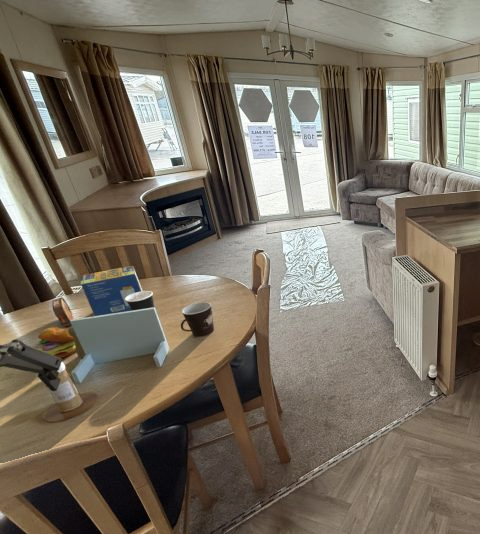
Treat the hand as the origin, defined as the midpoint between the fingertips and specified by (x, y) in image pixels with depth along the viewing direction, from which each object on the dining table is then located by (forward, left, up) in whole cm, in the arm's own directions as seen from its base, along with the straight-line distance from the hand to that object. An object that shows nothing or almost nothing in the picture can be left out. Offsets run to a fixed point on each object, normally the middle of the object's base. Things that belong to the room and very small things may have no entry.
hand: (13, 392), depth 74 cm
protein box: (-57, +40, -15) cm, 71 cm away
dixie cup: (-38, +40, -15) cm, 57 cm away
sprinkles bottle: (-8, +8, -15) cm, 19 cm away
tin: (-64, +26, -15) cm, 71 cm away
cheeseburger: (-41, +17, -15) cm, 47 cm away
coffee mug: (-13, +44, -15) cm, 48 cm away
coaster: (-8, +8, -15) cm, 19 cm away
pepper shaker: (-32, +21, -15) cm, 41 cm away
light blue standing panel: (-16, +23, -15) cm, 32 cm away
